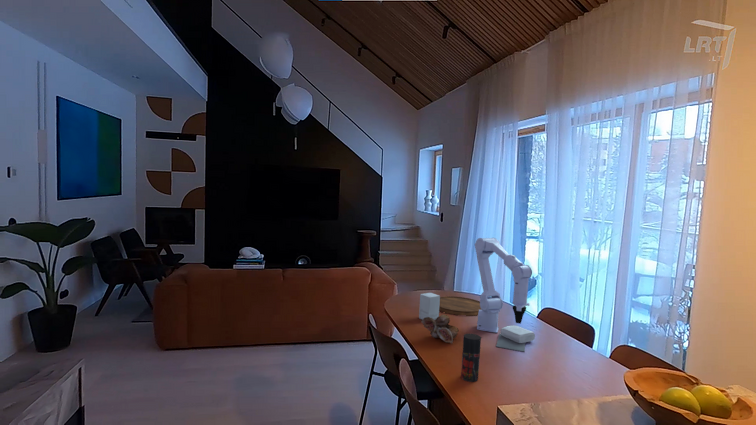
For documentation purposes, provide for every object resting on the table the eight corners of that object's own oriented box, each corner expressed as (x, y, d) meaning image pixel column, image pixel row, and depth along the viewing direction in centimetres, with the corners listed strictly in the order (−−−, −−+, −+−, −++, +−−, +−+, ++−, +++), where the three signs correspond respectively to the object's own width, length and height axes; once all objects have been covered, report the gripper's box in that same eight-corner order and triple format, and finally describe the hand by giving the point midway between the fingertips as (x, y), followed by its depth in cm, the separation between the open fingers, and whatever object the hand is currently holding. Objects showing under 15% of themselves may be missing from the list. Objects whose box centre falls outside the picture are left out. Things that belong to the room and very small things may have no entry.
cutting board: (476, 321, 211) (477, 316, 211) (420, 308, 228) (421, 303, 228) (495, 307, 239) (495, 302, 238) (443, 296, 256) (444, 292, 255)
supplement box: (439, 320, 208) (440, 295, 207) (428, 322, 204) (429, 297, 203) (429, 316, 214) (430, 292, 213) (418, 318, 210) (419, 293, 209)
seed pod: (416, 318, 188) (427, 318, 174) (447, 309, 193) (461, 308, 179) (423, 347, 186) (435, 349, 172) (455, 337, 191) (469, 339, 177)
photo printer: (535, 341, 184) (513, 332, 195) (535, 331, 184) (513, 323, 195) (519, 344, 179) (497, 335, 190) (520, 335, 179) (498, 326, 189)
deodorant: (458, 374, 148) (461, 333, 147) (474, 374, 149) (477, 333, 148) (463, 381, 142) (466, 339, 141) (480, 382, 143) (483, 339, 142)
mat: (496, 347, 176) (496, 346, 176) (499, 334, 192) (499, 333, 192) (524, 352, 172) (524, 351, 172) (525, 338, 188) (525, 338, 188)
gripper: (530, 297, 173) (527, 329, 174) (530, 290, 186) (528, 319, 187) (512, 295, 175) (510, 326, 176) (514, 288, 189) (511, 317, 190)
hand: (518, 322), depth 182 cm, fingers closed
